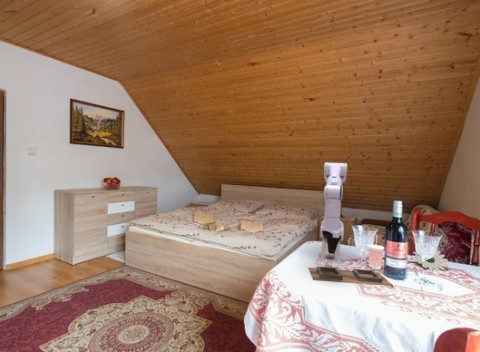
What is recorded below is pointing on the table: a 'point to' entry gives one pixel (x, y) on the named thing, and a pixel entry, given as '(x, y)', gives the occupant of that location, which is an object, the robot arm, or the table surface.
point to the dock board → (348, 276)
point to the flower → (432, 261)
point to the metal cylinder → (327, 255)
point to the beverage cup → (375, 255)
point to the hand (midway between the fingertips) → (330, 251)
